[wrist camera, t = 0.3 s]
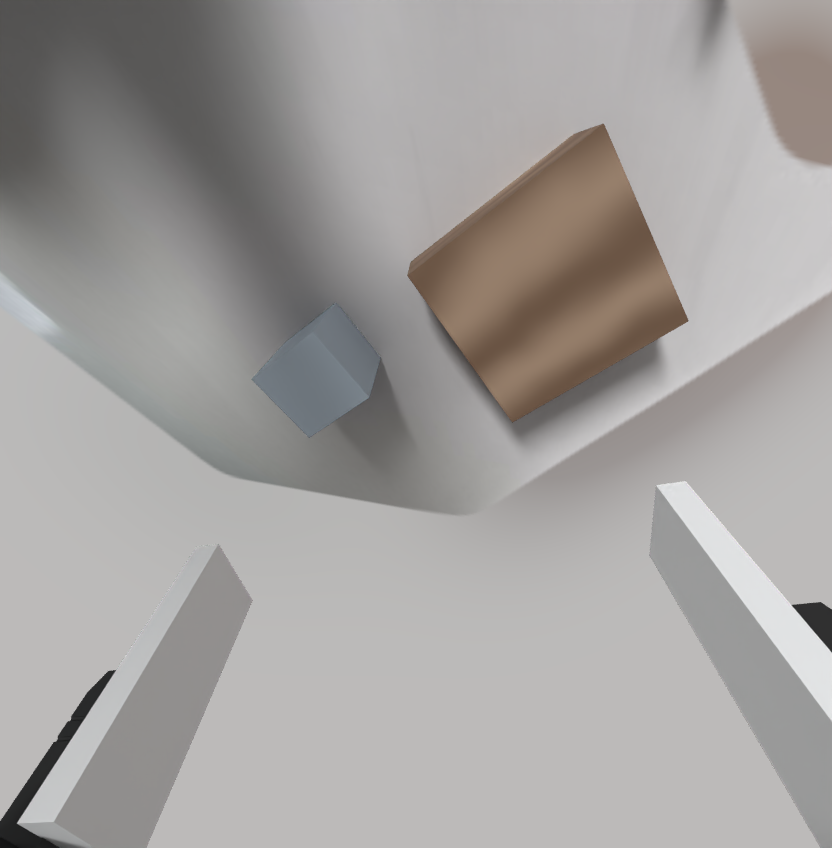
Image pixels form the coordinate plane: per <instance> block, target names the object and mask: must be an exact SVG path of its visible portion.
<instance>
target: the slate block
mask: <svg viewBox="0 0 832 848" xmlns="http://www.w3.org/2000/svg"><path fill="white" fill-rule="evenodd" d="M380 359H381V357H380V356H379V355H378V354H377V352H376V351H375V350H374V349H373V347H372V346H371V345H370V344H369V342H368V341H367V340H366V339H365V337H364V336H363V335H362V334H361V332H360V331H359V330H358V329H357V327H356V326H355V325H354V324H353V322H352V321H351V320H350V319H349V318H348V316H347V315H346V314H345V313H344V311H343V310H342V309H341V308H340V306H339V305H338V304H337V303H335V304H333V305H332V306H331V307H330V308H328V309H327V310H326V311H325V312H323V313H322V314H321V315H319V316H318V317H317V318H316V319H314V320H313V321H312V322H311V323H309V324H308V325H307V326H305V327H304V328H303V329H302V330H300V331H299V332H298V333H297V334H295V335H294V336H293V337H291V338H290V339H289V340H288V341H286V342H285V343H284V344H283V345H282V346H281V348H280V349H279V350H278V351H277V352H276V353H275V354H274V355H273V356H272V357H271V358H270V360H269V361H268V362H267V363H266V364H265V365H264V366H263V367H262V368H261V369H260V370H259V372H258V373H257V374H256V375H255V376H254V377H253V378H252V380H253V381H254V382H255V383H256V384H257V385H258V386H259V387H260V388H261V389H262V390H263V391H264V392H265V393H266V394H267V395H268V397H269V398H270V399H271V400H272V401H273V402H274V403H275V404H276V405H277V406H278V407H279V408H280V409H281V410H282V411H283V412H284V413H285V414H286V415H287V416H288V417H289V418H290V419H291V420H292V421H293V422H294V423H295V424H296V425H297V426H298V427H299V428H300V429H301V430H302V431H303V432H304V433H305V434H306V435H307V436H308V437H309V438H310V437H311V436H313V435H314V434H316V433H317V432H319V431H320V430H322V429H323V428H325V427H326V426H328V425H329V424H331V423H332V422H334V421H335V420H337V419H338V418H340V417H341V416H343V415H344V414H346V413H347V412H349V411H350V410H352V409H353V408H355V407H356V406H358V405H359V404H361V403H362V402H364V401H365V400H367V399H368V398H369V397H370V394H371V390H372V387H373V383H374V380H375V376H376V373H377V369H378V366H379V362H380Z"/></svg>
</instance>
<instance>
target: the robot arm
mask: <svg viewBox="0 0 832 848" xmlns="http://www.w3.org/2000/svg"><path fill="white" fill-rule="evenodd" d="M650 557H651V559H652V560H653V562H654V564H655V566H656V568H657V569H658V571H659V573H660V574H661V576H662V578H663V579H664V581H665V583H666V584H667V586H668V588H669V590H670V591H671V593H672V595H673V597H674V598H675V600H676V601H677V603H678V605H679V607H680V609H681V610H682V612H683V614H684V615H685V617H686V619H687V620H688V622H689V624H690V626H691V627H692V629H693V631H694V632H695V634H696V636H697V638H698V639H699V641H700V643H701V644H702V646H703V648H704V650H705V651H706V653H707V655H708V656H709V658H710V660H711V661H712V663H713V665H714V667H715V668H716V670H717V671H718V673H719V675H720V677H721V679H722V680H723V682H724V684H725V685H726V687H727V689H728V690H729V692H730V694H731V696H732V697H733V699H734V701H735V702H736V704H737V706H738V708H739V709H740V711H741V713H742V714H743V716H744V718H745V719H746V721H747V723H748V725H749V726H750V728H751V730H752V731H753V733H754V735H755V737H756V738H757V740H758V742H759V743H760V745H761V747H762V749H763V750H764V752H765V754H766V755H767V757H768V759H769V760H770V762H771V764H772V766H773V767H774V769H775V771H776V772H777V774H778V776H779V778H780V779H781V781H782V783H783V784H784V786H785V788H786V789H787V791H788V793H789V795H790V796H791V798H792V800H793V801H794V803H795V805H796V807H797V808H798V810H799V812H800V813H801V815H802V817H803V819H804V820H805V822H806V824H807V825H808V827H809V829H810V831H811V832H812V834H813V835H814V837H815V839H816V841H817V842H818V844H819V846H820V848H832V609H830V608H828V607H827V606H825V605H824V604H823V603H821V602H818V603H807V604H797V605H791V604H790V603H789V602H788V601H787V600H786V598H785V597H784V596H783V595H782V594H781V592H780V591H779V590H778V589H777V588H776V587H775V585H774V584H773V583H772V582H771V581H770V580H769V578H768V577H767V576H766V575H765V574H764V573H763V572H762V570H761V569H760V568H759V567H758V566H757V565H756V563H755V562H754V561H753V560H752V559H751V557H750V556H749V555H748V554H747V553H746V551H745V550H744V549H743V548H742V547H741V546H740V544H739V543H738V542H737V541H736V540H735V539H734V537H733V536H732V535H731V534H730V533H729V532H728V530H727V529H726V528H725V527H724V526H723V525H722V523H721V522H720V521H719V520H718V519H717V517H716V516H715V515H714V514H713V513H712V512H711V510H709V508H708V507H707V506H706V505H705V504H704V502H703V501H702V500H701V499H700V498H699V496H698V495H697V494H696V493H695V492H694V491H693V489H692V488H691V487H690V486H689V485H688V484H687V483H686V481H684V482H677V483H669V484H662V485H656V491H655V501H654V512H653V522H652V533H651V544H650ZM251 603H252V599H251V597H250V596H249V594H248V592H247V590H246V589H245V587H244V586H243V584H242V582H241V580H240V579H239V577H238V575H237V574H236V572H235V571H234V569H233V567H232V566H231V564H230V562H229V561H228V559H227V557H226V556H225V554H224V552H223V551H222V549H221V548H220V546H219V544H213V545H206V546H199V547H196V548H195V550H194V551H193V553H192V554H191V556H190V557H189V559H188V561H187V562H186V564H185V565H184V567H183V568H182V570H181V571H180V573H179V575H178V576H177V578H176V579H175V580H174V582H173V584H172V585H171V587H170V588H169V590H168V591H167V593H166V594H165V596H164V597H163V599H162V601H161V602H160V604H159V605H158V607H157V608H156V610H155V611H154V613H153V614H152V616H151V618H150V619H149V621H148V622H147V624H146V625H145V627H144V628H143V630H142V631H141V633H140V634H139V636H138V638H137V639H136V641H135V642H134V644H133V645H132V647H131V648H130V650H129V651H128V653H127V654H126V656H125V658H124V659H123V661H122V662H121V664H120V665H119V667H118V668H117V670H113V671H108V672H107V673H106V674H105V675H104V676H103V677H102V678H101V679H100V680H99V681H98V682H97V683H96V684H95V685H94V686H93V687H92V688H91V689H90V690H89V691H88V692H87V694H86V695H85V697H84V698H83V700H82V701H81V703H80V704H79V706H78V707H77V709H76V710H75V712H74V713H73V715H72V716H71V721H68V722H67V723H66V725H65V727H64V728H63V729H62V731H61V732H60V734H59V735H58V740H57V741H56V742H54V743H53V744H52V746H51V747H50V749H49V750H48V752H47V753H46V755H45V756H44V758H43V759H42V761H41V762H40V763H39V765H38V766H37V768H36V769H35V771H34V772H33V774H32V775H31V777H30V778H29V780H28V781H27V783H26V784H25V786H24V787H23V788H22V790H21V791H20V793H19V795H18V796H17V798H16V799H15V800H14V802H13V803H12V805H11V806H10V808H9V809H8V811H7V812H6V814H5V815H4V817H3V818H2V819H1V821H0V848H146V847H147V845H148V842H149V840H150V838H151V836H152V833H153V831H154V829H155V826H156V824H157V822H158V819H159V817H160V815H161V812H162V810H163V808H164V805H165V803H166V801H167V798H168V796H169V793H170V791H171V789H172V787H173V784H174V782H175V780H176V777H177V775H178V773H179V770H180V768H181V766H182V763H183V761H184V759H185V756H186V754H187V752H188V750H189V747H190V745H191V743H192V740H193V738H194V735H195V733H196V731H197V728H198V726H199V724H200V722H201V719H202V717H203V715H204V712H205V710H206V707H207V705H208V703H209V701H210V698H211V696H212V694H213V691H214V689H215V687H216V684H217V682H218V680H219V677H220V675H221V673H222V670H223V668H224V666H225V663H226V661H227V659H228V656H229V654H230V652H231V650H232V647H233V645H234V643H235V640H236V638H237V635H238V633H239V631H240V629H241V626H242V624H243V622H244V619H245V617H246V615H247V612H248V610H249V608H250V605H251Z"/></svg>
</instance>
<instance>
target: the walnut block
mask: <svg viewBox="0 0 832 848" xmlns="http://www.w3.org/2000/svg"><path fill="white" fill-rule="evenodd" d="M407 276H408V277H409V279H410V280H411V282H412V283H413V284H414V286H415V287H416V289H417V290H418V291H419V293H420V294H421V295H422V297H423V298H424V300H425V301H426V302H427V304H428V305H429V307H430V308H431V309H432V311H433V312H434V314H435V315H436V316H437V318H438V319H439V321H440V322H441V323H442V325H443V326H444V328H445V329H446V330H447V332H448V333H449V335H450V336H451V337H452V339H453V340H454V342H455V343H456V344H457V346H458V347H459V349H460V350H461V351H462V353H463V354H464V356H465V357H466V358H467V360H468V361H469V363H470V364H471V365H472V367H473V368H474V370H475V371H476V372H477V374H478V375H479V377H480V378H481V379H482V381H483V382H484V384H485V385H486V386H487V388H488V389H489V391H490V392H491V393H492V395H493V396H494V398H495V399H496V400H497V402H498V403H499V405H500V406H501V407H502V409H503V410H504V412H505V413H506V414H507V416H508V417H509V419H510V420H511V421H512V422H514V421H516V420H518V419H519V418H521V417H523V416H525V415H526V414H528V413H530V412H531V411H533V410H535V409H537V408H538V407H540V406H542V405H544V404H545V403H547V402H549V401H551V400H552V399H554V398H556V397H558V396H559V395H561V394H563V393H565V392H566V391H568V390H570V389H571V388H573V387H575V386H577V385H578V384H580V383H582V382H584V381H585V380H587V379H589V378H591V377H592V376H594V375H596V374H598V373H599V372H601V371H603V370H604V369H606V368H608V367H610V366H611V365H613V364H615V363H617V362H618V361H620V360H622V359H624V358H625V357H627V356H629V355H631V354H632V353H634V352H636V351H638V350H639V349H641V348H643V347H644V346H646V345H648V344H650V343H651V342H653V341H655V340H657V339H658V338H660V337H662V336H664V335H665V334H667V333H669V332H671V331H672V330H674V329H676V328H678V327H679V326H681V325H683V324H684V323H686V322H688V318H687V316H686V314H685V311H684V309H683V307H682V304H681V302H680V300H679V297H678V295H677V293H676V290H675V288H674V286H673V284H672V281H671V279H670V277H669V274H668V272H667V270H666V267H665V265H664V263H663V260H662V258H661V256H660V253H659V251H658V249H657V246H656V244H655V242H654V239H653V237H652V235H651V232H650V230H649V228H648V225H647V223H646V221H645V218H644V216H643V214H642V211H641V209H640V207H639V204H638V202H637V200H636V197H635V195H634V193H633V190H632V188H631V186H630V183H629V181H628V179H627V176H626V174H625V172H624V169H623V167H622V165H621V162H620V160H619V158H618V155H617V153H616V151H615V148H614V146H613V144H612V141H611V139H610V137H609V134H608V132H607V130H606V128H605V125H604V124H601V125H598V126H595V127H592V128H590V129H587V130H584V131H581V132H578V133H575V134H573V135H572V136H571V137H570V138H568V139H567V140H566V141H564V142H563V143H562V144H561V145H559V146H558V147H557V148H556V149H554V150H553V151H552V152H550V153H549V154H548V155H547V156H545V157H544V158H543V159H541V160H540V161H539V162H538V163H536V164H535V165H534V166H533V167H531V168H530V169H529V170H527V171H526V172H525V173H524V174H522V175H521V176H520V177H519V178H517V179H516V180H515V181H513V182H512V183H511V184H510V185H508V186H507V187H506V188H504V189H503V190H502V191H501V192H499V193H498V194H497V195H496V196H494V197H493V198H492V199H490V200H489V201H488V202H487V203H485V204H484V205H483V206H482V207H480V208H479V209H478V210H476V211H475V212H474V213H473V214H471V215H470V216H469V217H467V218H466V219H465V220H464V221H462V222H461V223H460V224H459V225H457V226H456V227H455V228H453V229H452V230H451V231H450V232H448V233H447V234H446V235H445V236H443V237H442V238H441V239H439V240H438V241H437V242H436V243H434V244H433V245H432V246H430V247H429V248H428V249H427V250H425V251H424V252H423V253H422V254H420V255H419V256H418V257H416V258H415V259H414V260H413V261H411V263H410V267H409V271H408V275H407Z"/></svg>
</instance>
